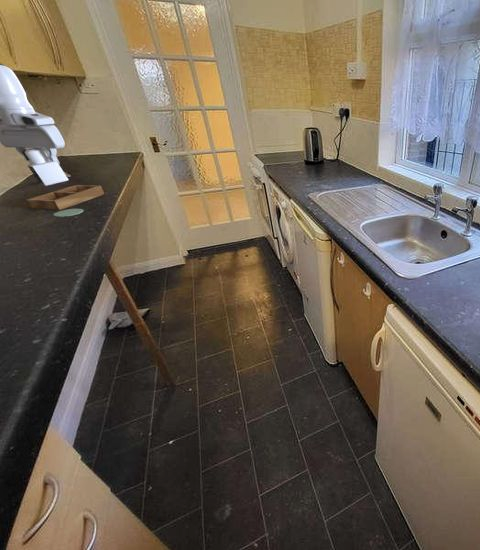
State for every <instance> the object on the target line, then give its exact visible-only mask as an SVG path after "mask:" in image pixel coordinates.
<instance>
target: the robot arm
mask: <svg viewBox="0 0 480 550" xmlns="http://www.w3.org/2000/svg"><path fill="white" fill-rule="evenodd" d="M0 144H1V145H2V146H3V147H5V148H14V149H15V150H16V151H17V152H18V153H19V154H20V155H21V156H22V157H23V158H24V160H25V161H26V162H28V160H27V159H26V157H25V156H24V155H23V153H22V152H23V151H24V150H27V149H33V148H46V149H47V151H48V152H49V155H50V156H48V158H49V160H50V161H51V162H56V161H59V159H58V157H57V151H58V149H63V148H65V146H66V142H65V139H64V138H63V136H62V134H61V132H60V130H59V129H58V127H56V125H55V120H54V119H53V117H51V116H48V115H45V114H42V113H39V112H37V111H35V109H34V107H33V106H32V104H31V103H30V102H29V100H28V98H27V93H26V91H25V89H24V87H23V85H22V83H21V82H20V80H19V79H18V77H17V75H16V73H15V72H14V71H13V70H12V69H11V68H10V67H9V66H7V65H5V64H3V63H1V62H0Z"/></svg>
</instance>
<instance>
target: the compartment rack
mask: <svg viewBox="0 0 480 550" xmlns="http://www.w3.org/2000/svg"><path fill="white" fill-rule="evenodd" d="M103 195H105V192H104V190H103V187H102V186H101V185H85V184H84V185H83V184H74V185H71V186H68V187H65V188H60V189H57V190H54V191H51V192H47V193H44V194H41V195H38V196H37V195H36V196H34V197H30V198H27V199H25V202H26V204H27V206H28V207H29V208H30V209H39V210H55V211H56V210H57V211H62V210H66V209H67V208H71V207H74V206H76V205H78V204H81V203H84V202H87V201H90V200H92V199H95V198H98V197H100V196H103Z"/></svg>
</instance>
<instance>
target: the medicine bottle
mask: <svg viewBox="0 0 480 550" xmlns="http://www.w3.org/2000/svg"><path fill="white" fill-rule="evenodd" d="M22 153H23V155H24V156H25V157H26V159H27V160H28V161H27V162H28V164H27V168H28V169H29V170H30V172H31V173H32V174H33V176H34V177H35V179H36V180H37V181H38V183H39V184H40V185H42V186H46V187H47V186H52V185H55V184H60V183H63V182H69V178H67V177H66V175H65V174H64V172H65V171H64V170H63V169H62V167H61V166H60V165H59V164H58V163H57V162H51V161H50V160H49V158H48V156H49V155H48V154H47V152H46V151H45V149H43V148H27V149H26V150H24V151H23V152H22ZM24 156H23V157H24Z"/></svg>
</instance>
